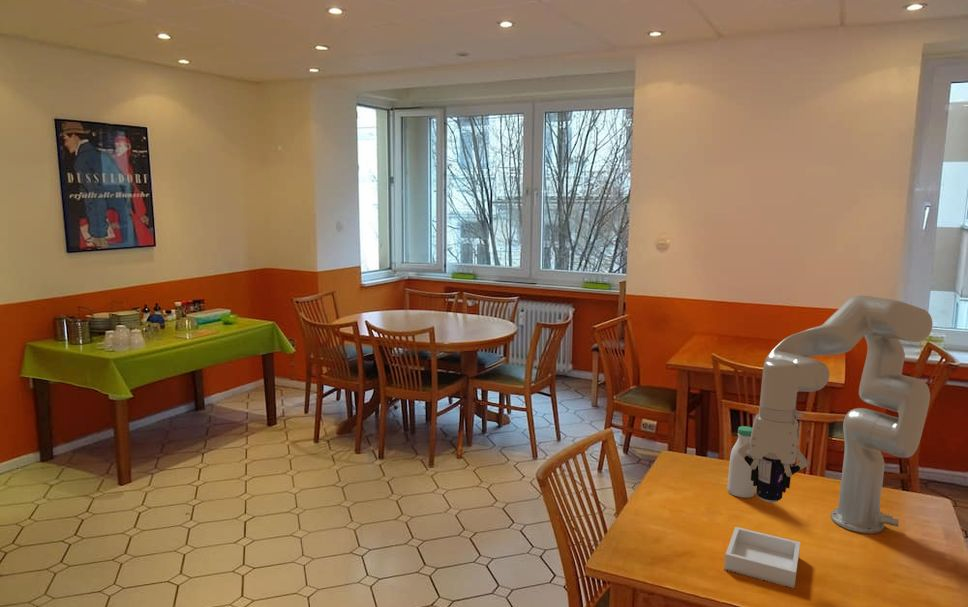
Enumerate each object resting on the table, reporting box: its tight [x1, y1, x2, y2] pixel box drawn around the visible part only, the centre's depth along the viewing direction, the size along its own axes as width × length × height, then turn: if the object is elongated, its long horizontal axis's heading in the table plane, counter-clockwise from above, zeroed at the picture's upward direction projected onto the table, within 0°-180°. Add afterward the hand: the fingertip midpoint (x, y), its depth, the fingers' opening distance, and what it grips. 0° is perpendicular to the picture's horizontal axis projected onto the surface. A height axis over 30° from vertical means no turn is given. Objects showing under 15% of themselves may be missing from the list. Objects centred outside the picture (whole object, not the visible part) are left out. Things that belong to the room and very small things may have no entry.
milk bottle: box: [727, 425, 757, 499], centre depth 195 cm, size 8×8×20 cm
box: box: [724, 526, 801, 589], centre depth 159 cm, size 15×15×4 cm
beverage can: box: [755, 453, 785, 504], centre depth 156 cm, size 6×6×12 cm
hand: (769, 486), depth 156 cm, fingers closed on beverage can, 5 cm apart
